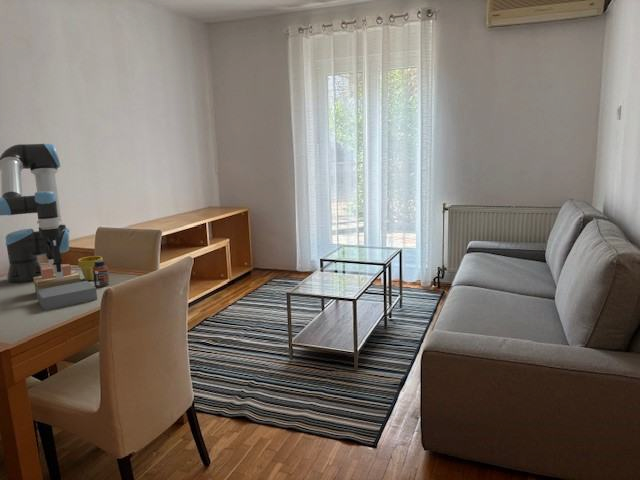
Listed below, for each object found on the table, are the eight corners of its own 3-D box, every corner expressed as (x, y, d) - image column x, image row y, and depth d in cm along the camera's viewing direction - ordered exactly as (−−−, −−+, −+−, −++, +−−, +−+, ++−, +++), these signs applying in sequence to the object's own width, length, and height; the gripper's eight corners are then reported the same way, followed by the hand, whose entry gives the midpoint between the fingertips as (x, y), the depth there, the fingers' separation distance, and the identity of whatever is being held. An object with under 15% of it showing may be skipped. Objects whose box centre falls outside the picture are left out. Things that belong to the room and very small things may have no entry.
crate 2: (59, 274, 207) (58, 265, 206) (69, 272, 210) (68, 263, 209) (61, 276, 204) (59, 267, 203) (71, 274, 207) (70, 265, 206)
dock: (38, 301, 192) (36, 290, 191) (88, 291, 204) (87, 280, 203) (44, 310, 181) (42, 298, 180) (97, 299, 193) (95, 287, 192)
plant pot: (95, 282, 219) (92, 261, 217) (75, 281, 221) (72, 260, 219) (109, 275, 229) (106, 256, 227) (90, 275, 231) (87, 255, 229)
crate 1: (41, 277, 203) (40, 268, 202) (52, 275, 205) (50, 266, 205) (43, 279, 200) (42, 270, 199) (54, 277, 202) (52, 268, 202)
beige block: (35, 292, 205) (33, 277, 204) (76, 285, 215) (74, 270, 213) (39, 298, 197) (37, 282, 196) (81, 290, 207) (79, 274, 206)
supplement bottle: (99, 288, 208) (96, 263, 206) (91, 286, 211) (88, 261, 209) (112, 284, 213) (109, 260, 211) (104, 283, 216) (101, 259, 214)
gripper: (34, 226, 208) (41, 273, 212) (44, 232, 189) (52, 283, 192) (53, 224, 212) (60, 270, 216) (65, 229, 193) (72, 279, 197)
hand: (56, 276), depth 204 cm, fingers open, 13 cm apart
